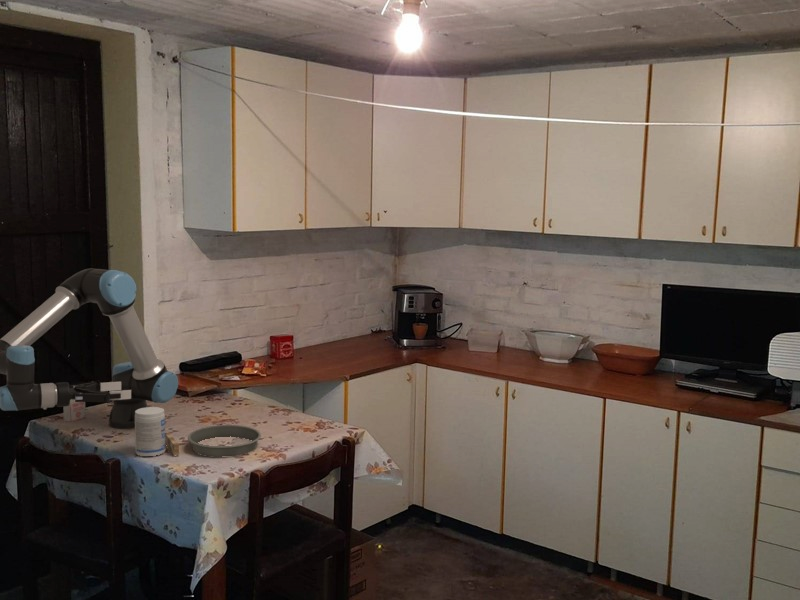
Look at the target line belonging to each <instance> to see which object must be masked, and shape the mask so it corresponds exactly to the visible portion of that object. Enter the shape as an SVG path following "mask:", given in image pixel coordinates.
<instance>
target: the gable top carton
mask: <svg viewBox="0 0 800 600" xmlns="http://www.w3.org/2000/svg"><path fill="white" fill-rule="evenodd" d="M83 419H87V418H86V402H75V400H73V399H72V400H70V404H69V406H64V407H63V421H64V422H68V423H73V422H77V421H81V420H83Z"/></svg>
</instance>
